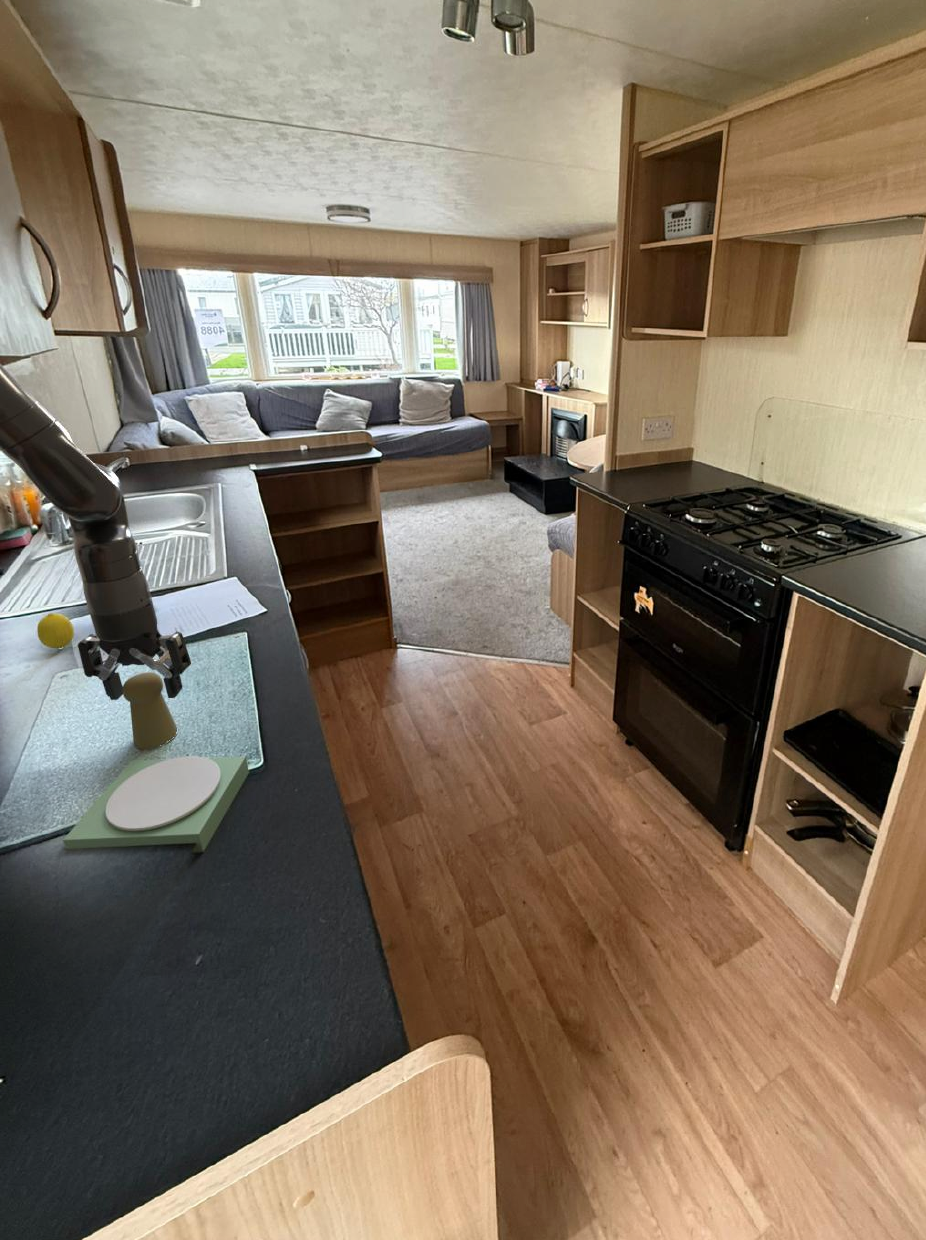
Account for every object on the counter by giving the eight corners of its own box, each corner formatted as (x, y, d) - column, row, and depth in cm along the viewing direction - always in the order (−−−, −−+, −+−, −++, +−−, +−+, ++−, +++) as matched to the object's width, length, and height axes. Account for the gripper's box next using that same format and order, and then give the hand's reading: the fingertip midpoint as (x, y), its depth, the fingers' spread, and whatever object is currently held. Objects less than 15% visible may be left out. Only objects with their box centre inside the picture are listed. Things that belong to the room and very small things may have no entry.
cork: (126, 752, 91) (108, 691, 87) (143, 727, 96) (127, 669, 93) (170, 746, 92) (154, 686, 88) (183, 722, 97) (169, 665, 94)
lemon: (42, 648, 119) (31, 613, 117) (76, 639, 123) (66, 604, 120) (45, 659, 116) (33, 622, 113) (80, 649, 119) (69, 614, 116)
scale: (66, 858, 73) (58, 835, 71) (134, 777, 86) (127, 755, 84) (203, 852, 74) (197, 829, 72) (249, 772, 87) (245, 751, 85)
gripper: (50, 615, 82) (82, 713, 87) (156, 611, 83) (181, 709, 88) (86, 592, 89) (114, 684, 94) (184, 589, 90) (205, 680, 95)
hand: (146, 696), depth 91 cm, fingers open, 8 cm apart
